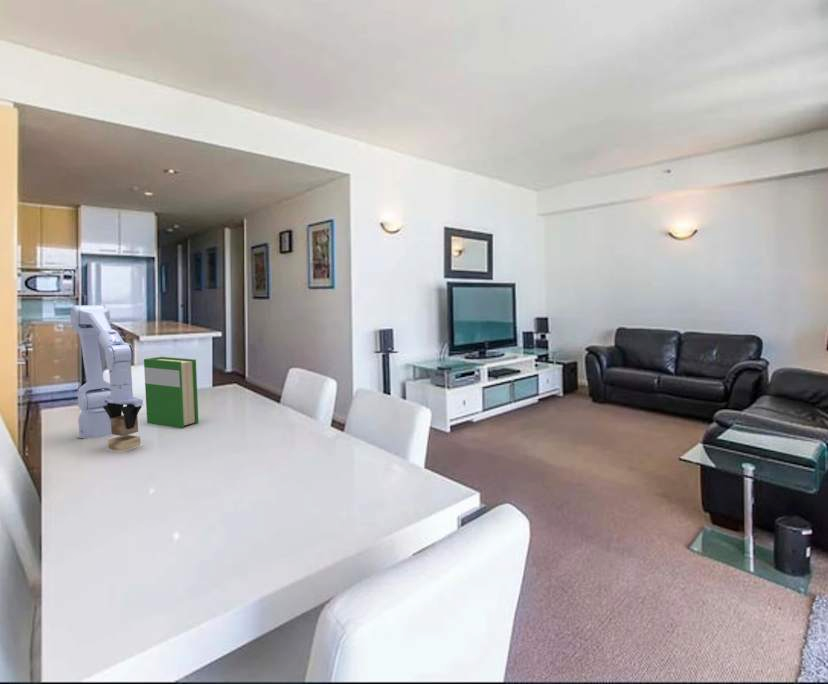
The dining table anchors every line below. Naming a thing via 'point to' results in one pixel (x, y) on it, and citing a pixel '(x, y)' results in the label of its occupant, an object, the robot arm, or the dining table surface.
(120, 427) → the walnut cube
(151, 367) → the hardback book
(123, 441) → the oak block
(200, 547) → the dining table surface
